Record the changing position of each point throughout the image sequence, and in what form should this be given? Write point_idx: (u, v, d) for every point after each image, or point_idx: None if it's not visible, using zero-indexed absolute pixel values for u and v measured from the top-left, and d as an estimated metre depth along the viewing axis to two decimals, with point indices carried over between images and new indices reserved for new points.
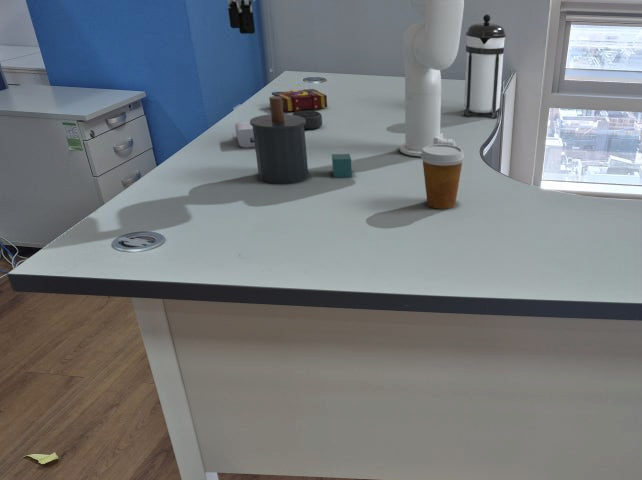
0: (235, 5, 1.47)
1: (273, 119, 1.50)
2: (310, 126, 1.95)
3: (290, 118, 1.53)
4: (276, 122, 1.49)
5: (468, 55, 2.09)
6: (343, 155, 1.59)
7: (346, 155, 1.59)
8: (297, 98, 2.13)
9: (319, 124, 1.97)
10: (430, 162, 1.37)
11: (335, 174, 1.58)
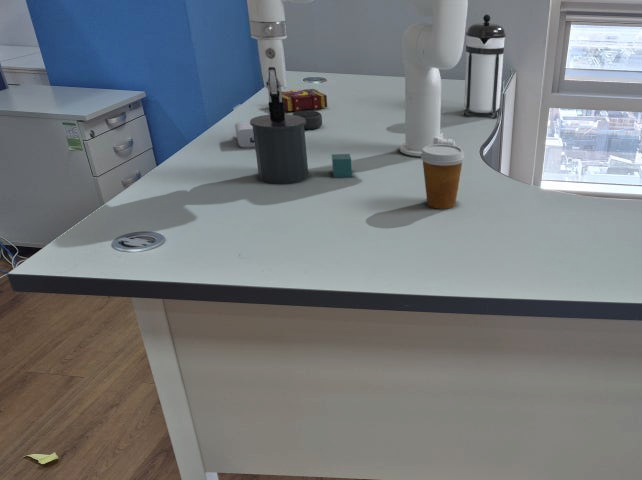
0: None
1: None
2: (310, 126, 1.95)
3: (290, 118, 1.53)
4: (276, 122, 1.49)
5: (468, 55, 2.09)
6: (343, 155, 1.59)
7: (346, 155, 1.59)
8: (297, 98, 2.13)
9: (319, 124, 1.97)
10: (430, 162, 1.37)
11: (335, 174, 1.58)
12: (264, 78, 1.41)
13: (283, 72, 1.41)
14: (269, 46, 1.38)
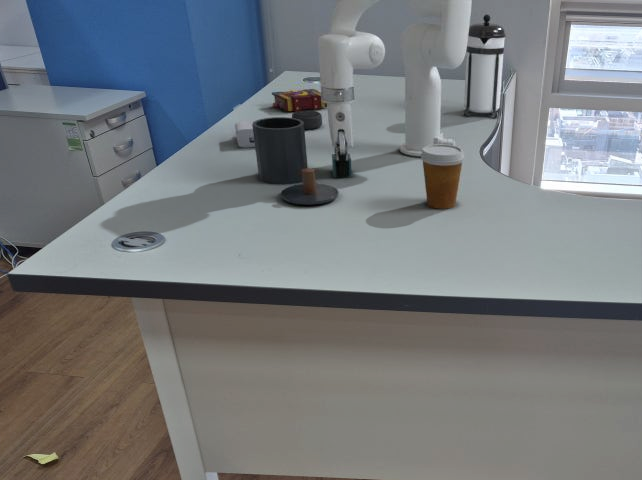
0: (340, 150, 1.60)
1: (305, 192, 1.44)
2: (310, 126, 1.95)
3: (322, 189, 1.47)
4: (308, 195, 1.44)
5: (468, 55, 2.09)
6: None
7: None
8: (297, 98, 2.13)
9: (319, 124, 1.97)
10: (430, 162, 1.37)
11: (335, 174, 1.58)
12: (333, 139, 1.51)
13: (351, 133, 1.51)
14: (339, 110, 1.48)
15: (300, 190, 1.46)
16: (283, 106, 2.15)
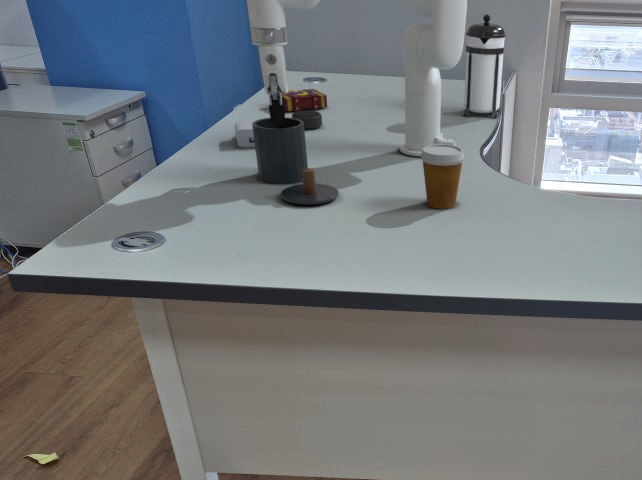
0: None
1: (305, 192, 1.44)
2: (310, 126, 1.95)
3: (322, 189, 1.47)
4: (308, 195, 1.44)
5: (468, 55, 2.09)
6: None
7: None
8: (297, 98, 2.13)
9: (319, 124, 1.97)
10: (430, 162, 1.37)
11: None
12: (265, 84, 1.42)
13: (284, 78, 1.42)
14: (270, 52, 1.39)
15: (300, 190, 1.46)
16: None
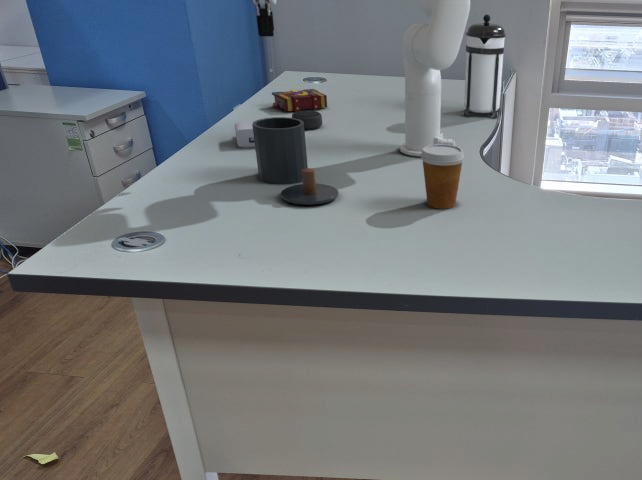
0: None
1: (305, 192, 1.44)
2: (310, 126, 1.95)
3: (322, 189, 1.47)
4: (308, 195, 1.44)
5: (468, 55, 2.09)
6: None
7: None
8: (297, 98, 2.13)
9: (319, 124, 1.97)
10: (430, 162, 1.37)
11: None
12: None
13: None
14: None
15: (300, 190, 1.46)
16: (283, 106, 2.15)
